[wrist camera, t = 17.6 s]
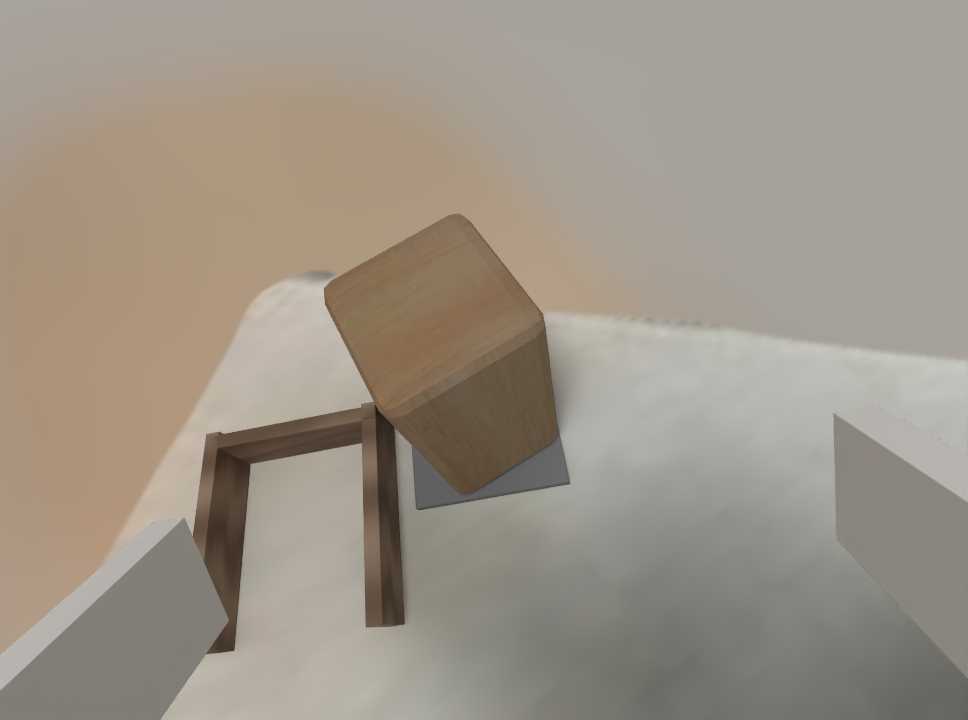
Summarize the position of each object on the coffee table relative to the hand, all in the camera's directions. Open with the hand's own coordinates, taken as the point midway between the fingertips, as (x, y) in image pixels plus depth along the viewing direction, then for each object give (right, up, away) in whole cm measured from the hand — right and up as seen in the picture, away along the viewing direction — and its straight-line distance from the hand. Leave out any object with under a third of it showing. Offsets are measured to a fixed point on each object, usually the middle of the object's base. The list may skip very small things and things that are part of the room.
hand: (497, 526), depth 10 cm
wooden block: (0, -2, +35) cm, 35 cm away
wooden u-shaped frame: (-15, -11, +34) cm, 39 cm away
